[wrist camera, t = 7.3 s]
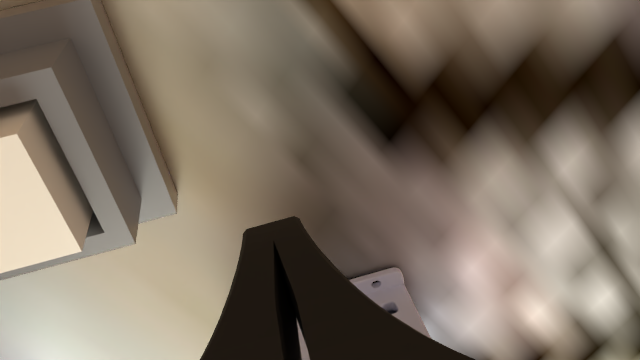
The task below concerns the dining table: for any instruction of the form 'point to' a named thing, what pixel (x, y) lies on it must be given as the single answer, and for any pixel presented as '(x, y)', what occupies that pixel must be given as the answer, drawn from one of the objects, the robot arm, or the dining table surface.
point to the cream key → (37, 192)
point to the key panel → (87, 116)
